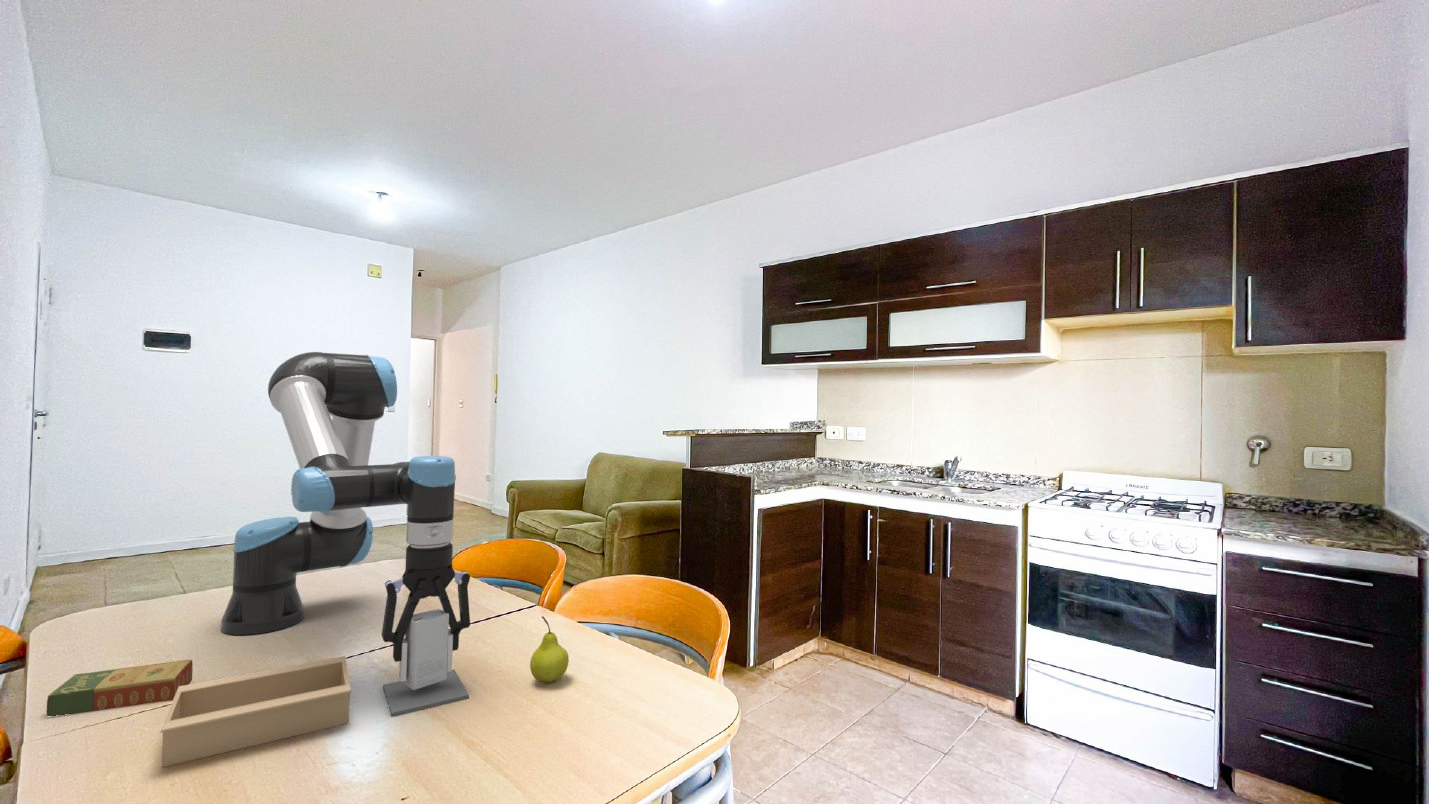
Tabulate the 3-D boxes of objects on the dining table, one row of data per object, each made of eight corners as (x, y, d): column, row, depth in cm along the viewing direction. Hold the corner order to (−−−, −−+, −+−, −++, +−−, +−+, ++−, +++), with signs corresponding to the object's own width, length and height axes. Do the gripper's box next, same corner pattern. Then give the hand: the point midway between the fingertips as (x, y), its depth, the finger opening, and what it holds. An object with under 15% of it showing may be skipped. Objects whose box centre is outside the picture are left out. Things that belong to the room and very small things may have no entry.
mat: (383, 687, 108) (383, 684, 108) (454, 672, 115) (454, 669, 115) (391, 716, 98) (391, 713, 98) (468, 698, 105) (469, 694, 105)
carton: (174, 702, 102) (175, 676, 102) (44, 721, 95) (45, 694, 95) (192, 681, 109) (193, 657, 109) (72, 697, 102) (73, 672, 102)
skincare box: (436, 673, 110) (439, 606, 110) (448, 680, 107) (451, 612, 108) (401, 683, 106) (404, 614, 106) (412, 692, 103) (415, 621, 103)
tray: (177, 724, 94) (178, 686, 94) (343, 690, 107) (344, 656, 107) (158, 774, 82) (160, 730, 82) (349, 728, 94) (350, 690, 94)
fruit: (575, 677, 114) (577, 613, 114) (554, 692, 108) (556, 625, 108) (544, 671, 116) (546, 608, 117) (522, 686, 110) (524, 620, 110)
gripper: (368, 554, 98) (363, 696, 98) (492, 542, 109) (488, 669, 109) (364, 545, 104) (360, 678, 104) (482, 534, 115) (478, 654, 115)
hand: (425, 673), depth 107 cm, fingers closed on skincare box, 7 cm apart
